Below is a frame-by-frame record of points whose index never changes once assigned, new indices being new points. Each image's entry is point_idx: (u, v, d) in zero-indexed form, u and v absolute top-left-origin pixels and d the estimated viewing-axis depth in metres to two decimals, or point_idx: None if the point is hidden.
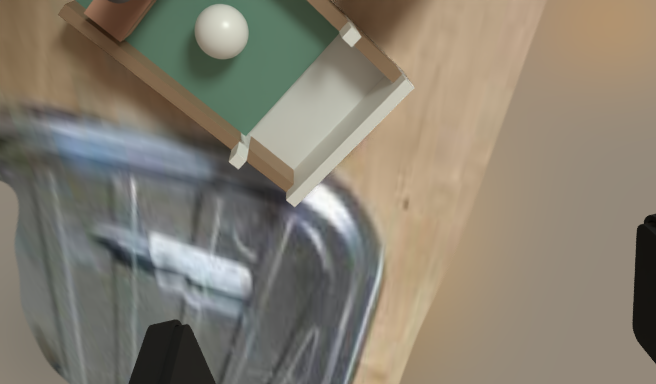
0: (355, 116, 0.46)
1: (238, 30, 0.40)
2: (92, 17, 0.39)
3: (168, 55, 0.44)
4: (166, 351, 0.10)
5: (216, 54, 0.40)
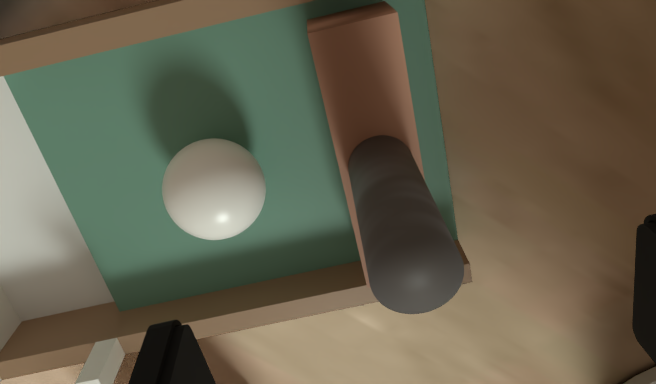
0: None
1: (199, 236, 0.21)
2: (379, 21, 0.18)
3: (232, 50, 0.21)
4: (166, 351, 0.10)
5: (180, 179, 0.20)
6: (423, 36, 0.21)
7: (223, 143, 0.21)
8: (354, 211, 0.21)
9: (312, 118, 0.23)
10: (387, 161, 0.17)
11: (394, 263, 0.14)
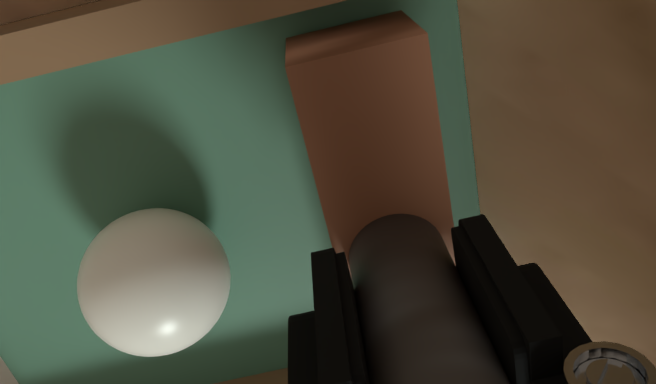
0: None
1: (133, 354, 0.14)
2: (400, 46, 0.11)
3: (178, 82, 0.15)
4: (337, 271, 0.11)
5: (98, 280, 0.13)
6: (454, 60, 0.15)
7: (165, 220, 0.14)
8: None
9: (296, 173, 0.16)
10: (413, 272, 0.11)
11: None
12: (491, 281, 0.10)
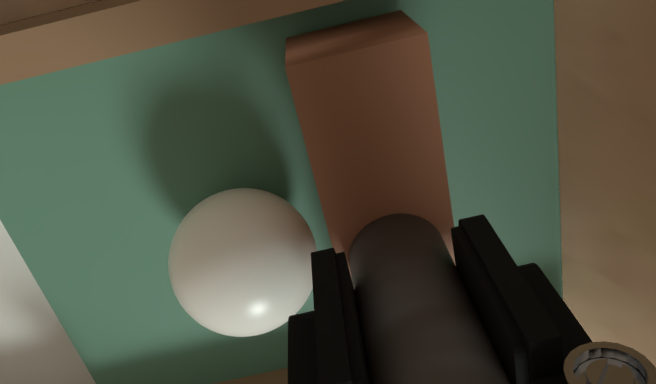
0: None
1: (225, 334, 0.14)
2: (399, 46, 0.11)
3: (269, 60, 0.14)
4: (337, 271, 0.11)
5: (198, 258, 0.13)
6: (546, 38, 0.15)
7: (258, 198, 0.14)
8: None
9: None
10: (413, 272, 0.11)
11: None
12: (491, 281, 0.10)
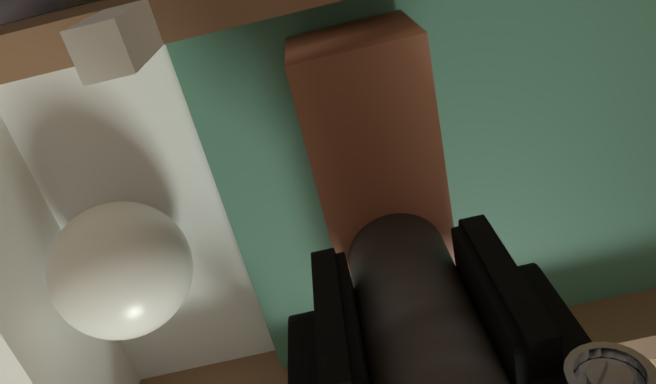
0: (73, 333, 0.17)
1: (161, 320, 0.15)
2: (399, 46, 0.11)
3: (509, 1, 0.14)
4: (337, 271, 0.11)
5: (130, 247, 0.14)
6: None
7: (118, 201, 0.16)
8: None
9: (600, 103, 0.16)
10: (413, 272, 0.11)
11: None
12: (491, 281, 0.10)
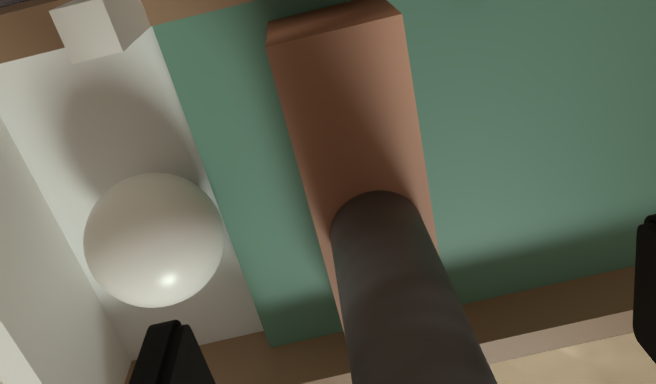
0: (64, 313, 0.17)
1: (218, 265, 0.17)
2: (375, 27, 0.12)
3: None
4: (166, 351, 0.10)
5: (191, 195, 0.15)
6: None
7: None
8: None
9: (575, 85, 0.16)
10: (389, 243, 0.11)
11: None
12: None
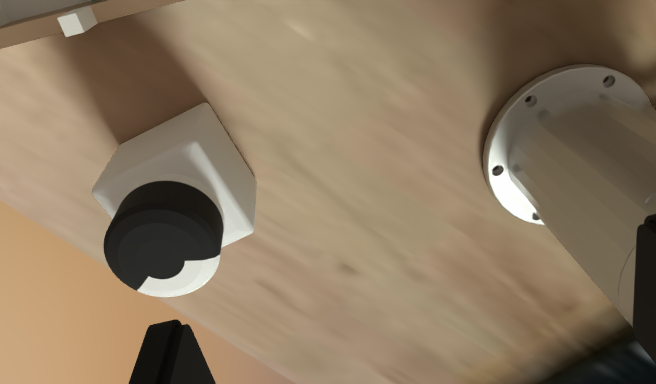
0: None
1: None
2: None
3: None
4: (166, 351, 0.10)
5: None
6: None
7: None
8: None
9: None
10: None
11: None
12: None
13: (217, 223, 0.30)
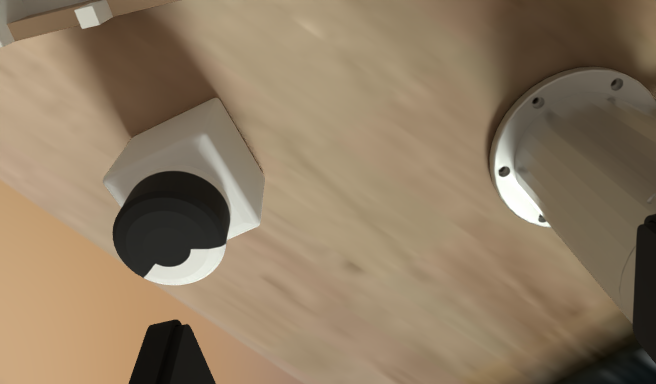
0: None
1: None
2: None
3: None
4: (166, 351, 0.10)
5: None
6: None
7: None
8: None
9: None
10: None
11: None
12: None
13: (224, 213, 0.31)
